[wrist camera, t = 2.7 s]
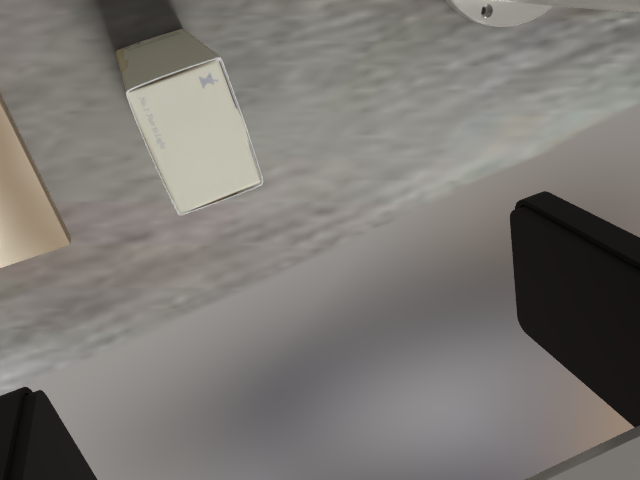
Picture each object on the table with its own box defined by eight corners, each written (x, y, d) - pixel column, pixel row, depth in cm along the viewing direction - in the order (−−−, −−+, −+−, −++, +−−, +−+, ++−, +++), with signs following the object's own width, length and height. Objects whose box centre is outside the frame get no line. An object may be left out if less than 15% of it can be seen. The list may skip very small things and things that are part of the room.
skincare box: (113, 49, 34) (115, 85, 23) (186, 26, 34) (221, 49, 24) (155, 149, 37) (175, 220, 26) (222, 125, 37) (266, 185, 27)
